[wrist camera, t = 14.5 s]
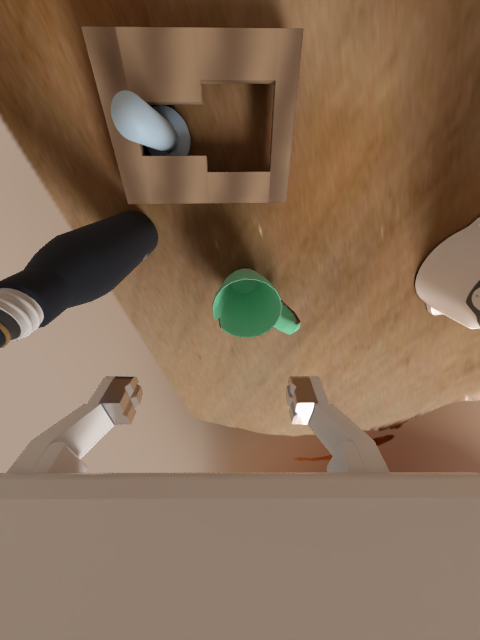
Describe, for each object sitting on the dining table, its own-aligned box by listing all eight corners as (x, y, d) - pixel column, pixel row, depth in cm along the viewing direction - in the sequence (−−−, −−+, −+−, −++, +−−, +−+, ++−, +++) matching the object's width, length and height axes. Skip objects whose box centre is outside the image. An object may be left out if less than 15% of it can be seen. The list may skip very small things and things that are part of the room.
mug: (207, 291, 39) (201, 323, 31) (232, 243, 34) (232, 264, 26) (273, 322, 44) (283, 356, 35) (303, 282, 39) (323, 311, 31)
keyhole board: (292, 51, 23) (303, 28, 20) (279, 199, 31) (285, 202, 27) (105, 50, 23) (80, 26, 19) (140, 200, 31) (128, 204, 27)
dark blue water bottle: (112, 206, 31) (-363, 333, 6) (158, 216, 32) (-96, 362, 7) (117, 249, 34) (-176, 443, 10) (158, 257, 35) (-13, 453, 11)
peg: (188, 108, 26) (159, 66, 16) (192, 166, 29) (171, 162, 19) (140, 106, 25) (81, 62, 15) (150, 165, 28) (106, 160, 19)
